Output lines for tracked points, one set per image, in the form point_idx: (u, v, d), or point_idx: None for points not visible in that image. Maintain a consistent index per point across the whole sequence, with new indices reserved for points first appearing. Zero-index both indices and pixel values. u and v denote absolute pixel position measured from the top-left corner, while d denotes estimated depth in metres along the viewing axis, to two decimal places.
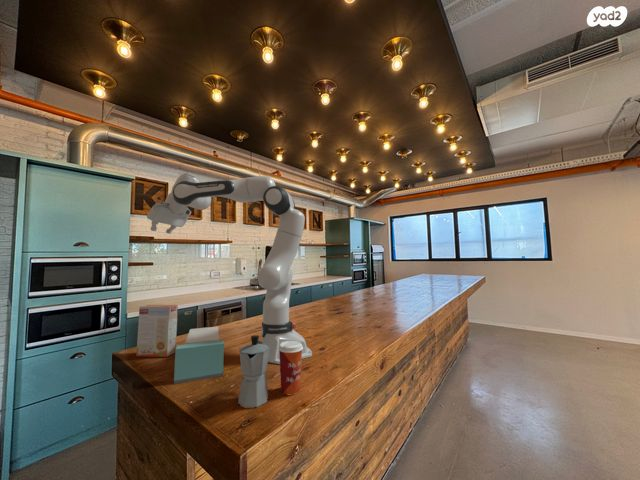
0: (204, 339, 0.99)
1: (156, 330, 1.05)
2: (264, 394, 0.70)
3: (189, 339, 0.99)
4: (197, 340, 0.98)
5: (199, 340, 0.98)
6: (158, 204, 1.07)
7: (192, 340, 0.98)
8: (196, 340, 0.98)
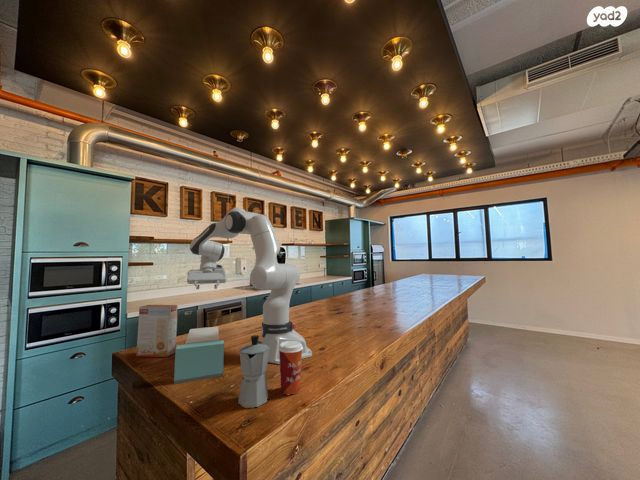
0: (204, 339, 0.99)
1: (156, 330, 1.05)
2: (264, 394, 0.70)
3: (189, 339, 0.99)
4: (197, 340, 0.98)
5: (199, 340, 0.98)
6: (189, 271, 1.40)
7: (192, 340, 0.98)
8: (196, 340, 0.98)
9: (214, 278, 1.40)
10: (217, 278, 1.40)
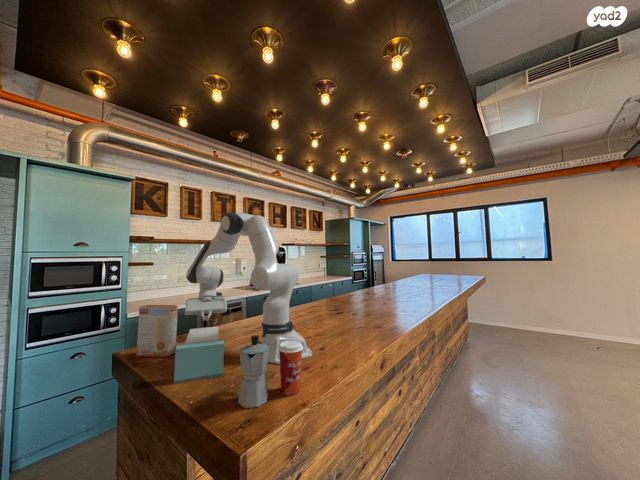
0: (204, 339, 0.99)
1: (156, 330, 1.05)
2: (264, 394, 0.70)
3: (189, 339, 0.99)
4: (197, 340, 0.98)
5: (199, 340, 0.98)
6: (187, 300, 1.32)
7: (192, 340, 0.98)
8: (196, 340, 0.98)
9: (214, 308, 1.31)
10: (217, 308, 1.31)
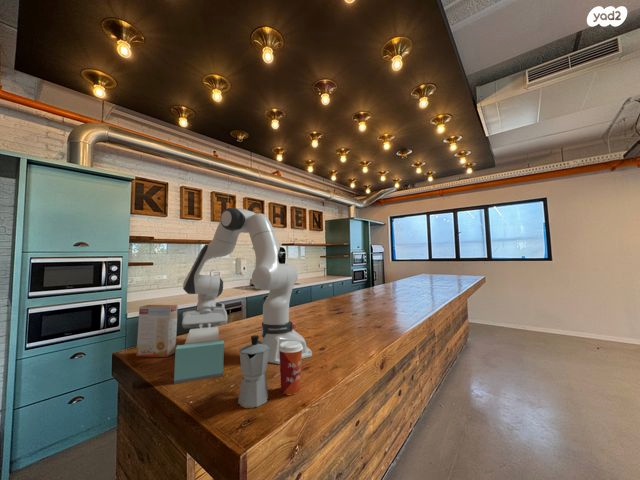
0: (204, 339, 0.99)
1: (156, 330, 1.05)
2: (264, 394, 0.70)
3: (189, 339, 0.99)
4: (197, 340, 0.98)
5: (199, 340, 0.98)
6: (185, 312, 1.22)
7: (192, 340, 0.98)
8: (196, 340, 0.98)
9: (213, 320, 1.22)
10: (217, 320, 1.22)
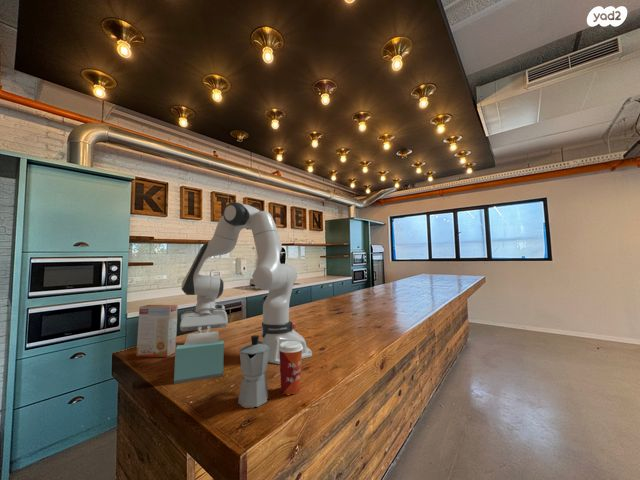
0: None
1: (156, 330, 1.05)
2: (264, 394, 0.70)
3: None
4: None
5: None
6: (183, 314, 1.16)
7: None
8: None
9: (213, 323, 1.16)
10: (216, 322, 1.16)
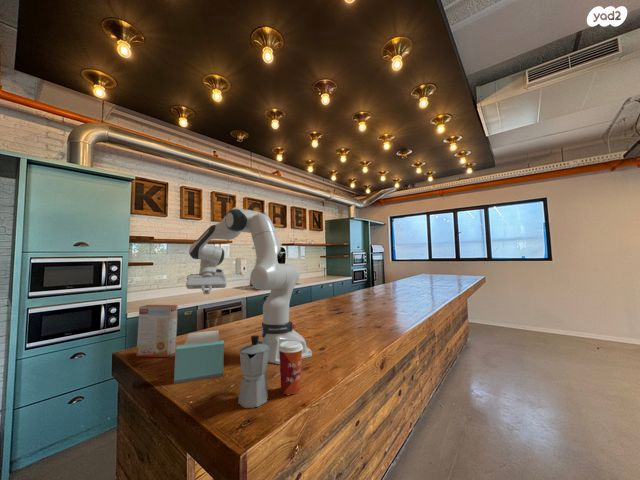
0: None
1: (156, 330, 1.05)
2: (264, 394, 0.70)
3: None
4: None
5: None
6: (188, 276, 1.38)
7: None
8: None
9: (214, 283, 1.37)
10: (217, 283, 1.38)
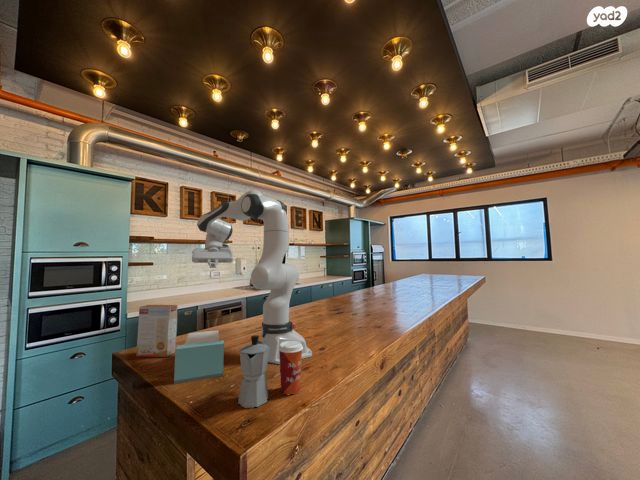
0: None
1: (156, 330, 1.05)
2: (264, 394, 0.70)
3: None
4: None
5: None
6: (194, 250, 1.33)
7: None
8: None
9: (220, 257, 1.33)
10: (223, 257, 1.33)
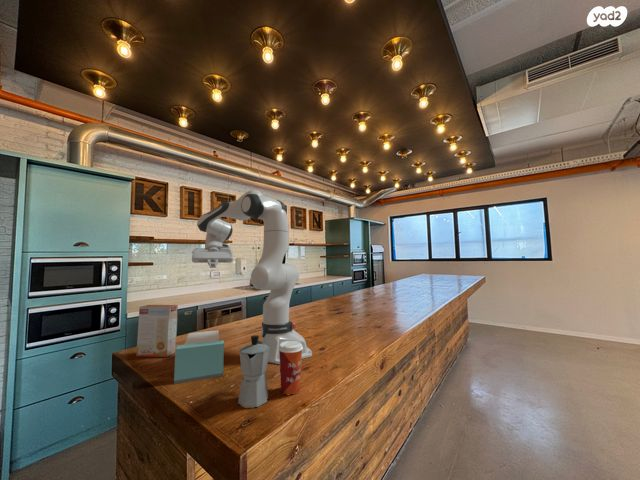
0: None
1: (156, 330, 1.05)
2: (264, 394, 0.70)
3: None
4: None
5: None
6: (194, 250, 1.33)
7: None
8: None
9: (220, 257, 1.33)
10: (223, 257, 1.33)
